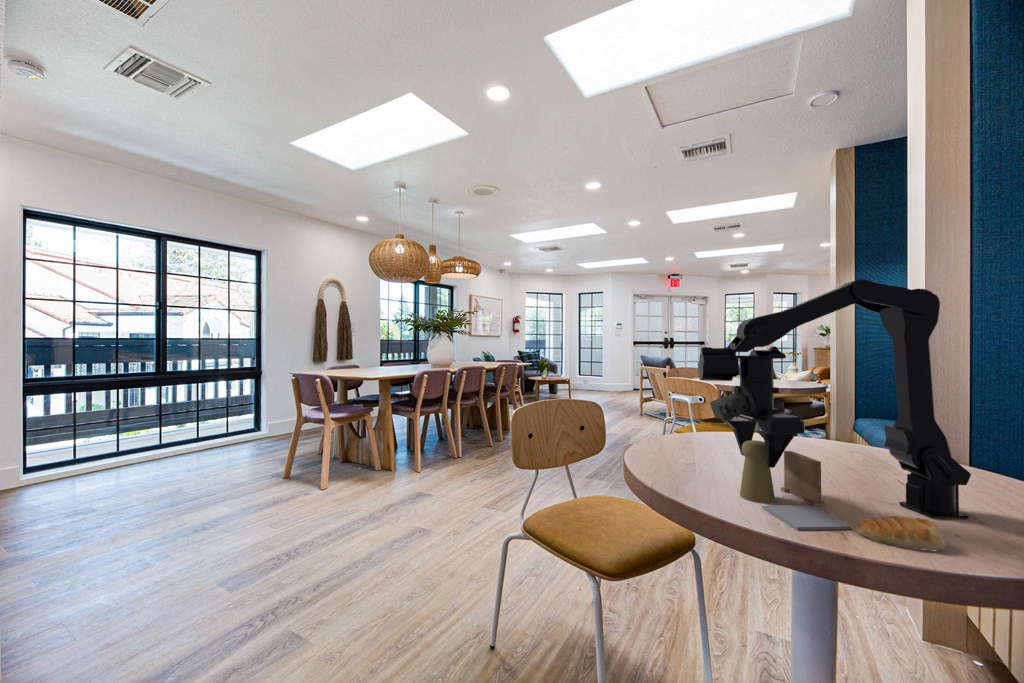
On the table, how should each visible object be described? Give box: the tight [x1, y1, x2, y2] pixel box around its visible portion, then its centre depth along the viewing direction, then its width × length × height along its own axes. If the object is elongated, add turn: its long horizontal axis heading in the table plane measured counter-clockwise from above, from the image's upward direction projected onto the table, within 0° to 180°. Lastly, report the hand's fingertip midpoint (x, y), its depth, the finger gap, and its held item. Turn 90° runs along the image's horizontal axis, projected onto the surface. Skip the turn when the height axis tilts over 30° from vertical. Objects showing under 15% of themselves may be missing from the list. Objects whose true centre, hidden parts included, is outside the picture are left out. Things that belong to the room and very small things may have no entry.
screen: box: [780, 450, 826, 506], centre depth 82 cm, size 3×8×8 cm, turn 2°
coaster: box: [761, 504, 853, 531], centre depth 72 cm, size 9×9×1 cm
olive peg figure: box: [739, 439, 776, 504], centre depth 82 cm, size 6×6×11 cm
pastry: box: [857, 515, 945, 552], centre depth 64 cm, size 9×7×4 cm
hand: (757, 461), depth 82 cm, fingers open, 8 cm apart
